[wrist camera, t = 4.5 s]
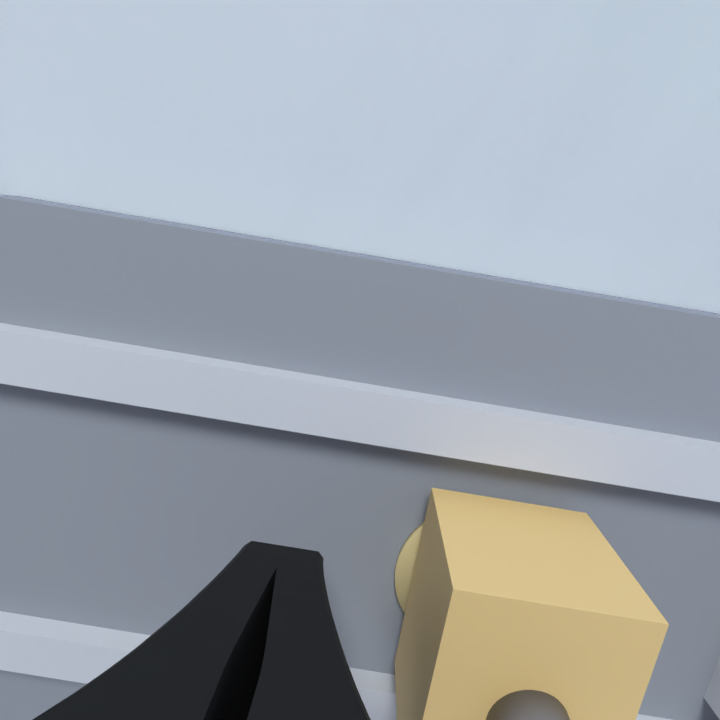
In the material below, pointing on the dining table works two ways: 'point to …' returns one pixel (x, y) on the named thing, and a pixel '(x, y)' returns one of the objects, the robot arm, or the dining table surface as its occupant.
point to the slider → (521, 618)
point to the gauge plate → (323, 437)
